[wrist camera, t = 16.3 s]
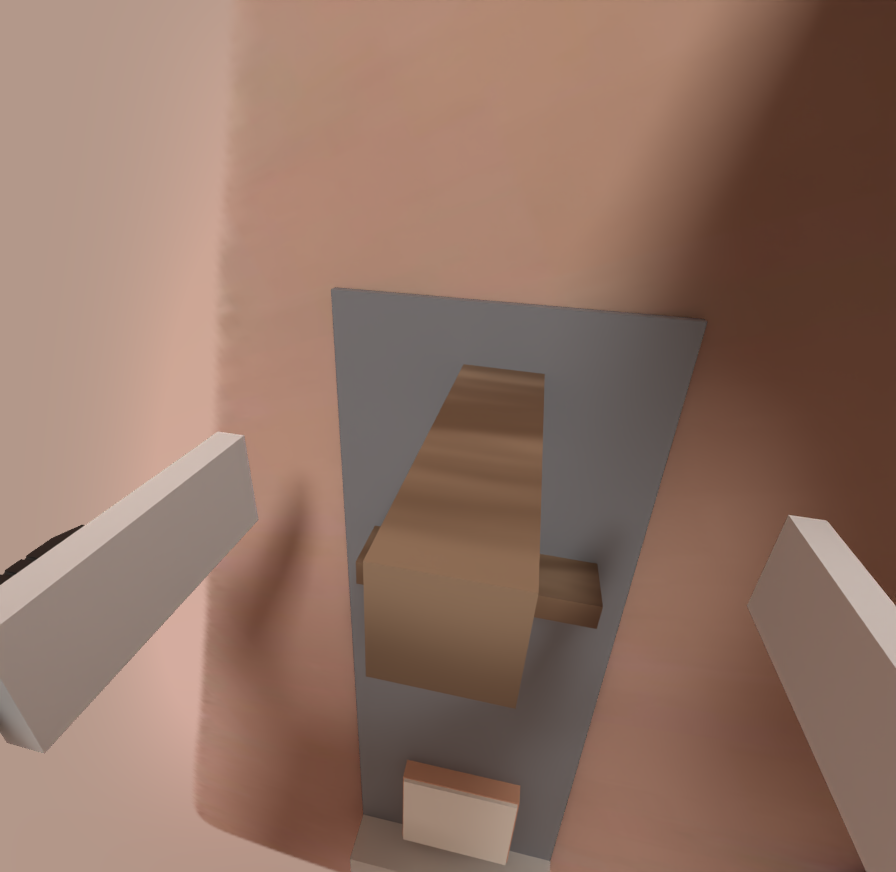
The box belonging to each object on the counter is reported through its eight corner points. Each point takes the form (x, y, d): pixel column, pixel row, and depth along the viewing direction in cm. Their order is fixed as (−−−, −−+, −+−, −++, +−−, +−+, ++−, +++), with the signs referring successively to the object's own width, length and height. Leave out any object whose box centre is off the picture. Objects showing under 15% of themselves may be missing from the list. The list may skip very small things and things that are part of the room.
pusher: (373, 353, 18) (178, 527, 9) (644, 385, 17) (768, 635, 7) (374, 545, 23) (246, 805, 13) (591, 584, 21) (626, 906, 12)
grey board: (335, 287, 18) (298, 303, 15) (703, 318, 16) (734, 343, 13) (366, 822, 35) (351, 873, 33) (545, 868, 33) (545, 925, 31)
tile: (407, 759, 30) (402, 780, 29) (520, 785, 29) (519, 807, 28) (406, 819, 33) (401, 839, 32) (508, 844, 32) (506, 866, 31)
